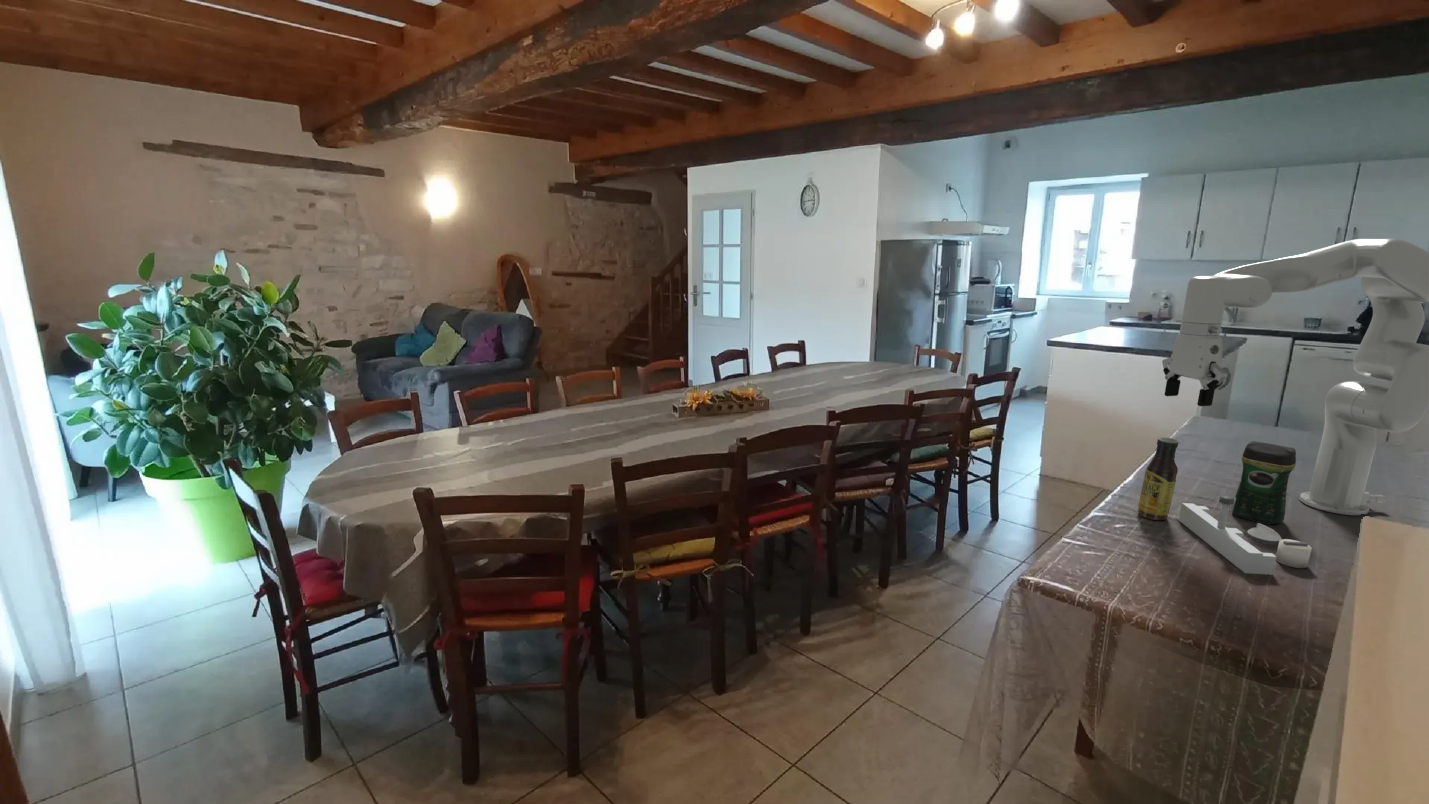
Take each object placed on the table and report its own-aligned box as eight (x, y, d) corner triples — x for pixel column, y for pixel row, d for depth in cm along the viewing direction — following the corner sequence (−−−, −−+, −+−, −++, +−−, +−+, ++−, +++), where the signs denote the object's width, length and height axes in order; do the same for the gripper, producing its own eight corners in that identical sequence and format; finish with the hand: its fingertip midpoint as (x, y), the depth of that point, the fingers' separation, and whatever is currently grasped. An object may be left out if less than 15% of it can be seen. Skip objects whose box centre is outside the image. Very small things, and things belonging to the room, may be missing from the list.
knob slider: (1296, 557, 134) (1300, 537, 133) (1313, 569, 129) (1318, 549, 128) (1269, 555, 135) (1274, 536, 134) (1285, 567, 130) (1290, 547, 129)
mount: (1201, 521, 151) (1210, 476, 148) (1272, 574, 127) (1284, 522, 124) (1178, 520, 152) (1187, 475, 149) (1244, 572, 128) (1256, 520, 125)
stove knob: (1264, 531, 147) (1267, 519, 146) (1293, 545, 140) (1296, 533, 139) (1234, 532, 146) (1236, 520, 146) (1261, 547, 139) (1264, 535, 139)
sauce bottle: (1131, 511, 157) (1143, 435, 152) (1154, 510, 158) (1167, 434, 153) (1150, 523, 151) (1164, 443, 146) (1175, 521, 151) (1189, 442, 146)
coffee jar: (1286, 519, 152) (1303, 445, 147) (1278, 528, 147) (1295, 453, 142) (1235, 506, 159) (1250, 436, 154) (1226, 515, 154) (1241, 443, 150)
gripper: (1248, 334, 140) (1233, 409, 144) (1184, 324, 157) (1172, 391, 161) (1217, 335, 139) (1203, 410, 143) (1156, 325, 156) (1145, 392, 160)
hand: (1187, 400), depth 152 cm, fingers open, 9 cm apart
